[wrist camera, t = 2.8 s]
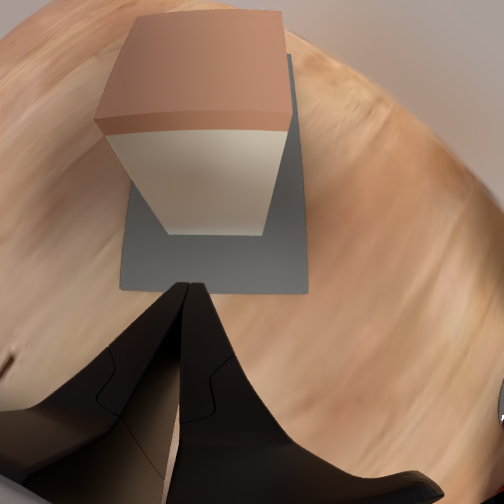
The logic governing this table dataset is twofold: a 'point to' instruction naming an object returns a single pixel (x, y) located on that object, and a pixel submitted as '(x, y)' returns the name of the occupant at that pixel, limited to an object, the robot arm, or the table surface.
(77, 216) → the table surface
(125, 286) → the rubber mat
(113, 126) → the tall block
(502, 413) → the wine glass
